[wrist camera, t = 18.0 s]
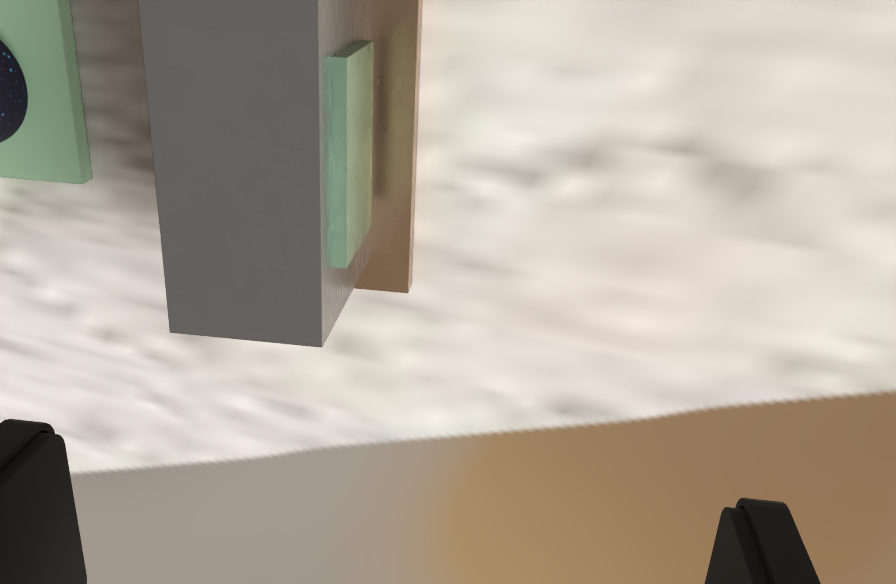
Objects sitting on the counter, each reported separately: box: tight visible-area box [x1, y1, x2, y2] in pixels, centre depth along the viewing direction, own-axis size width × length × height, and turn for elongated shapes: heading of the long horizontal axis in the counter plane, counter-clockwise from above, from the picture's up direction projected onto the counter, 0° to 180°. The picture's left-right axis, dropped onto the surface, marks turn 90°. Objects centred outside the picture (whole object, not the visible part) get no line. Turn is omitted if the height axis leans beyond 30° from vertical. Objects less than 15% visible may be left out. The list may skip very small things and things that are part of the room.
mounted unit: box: [138, 0, 422, 347], centre depth 33 cm, size 16×10×10 cm, turn 177°
